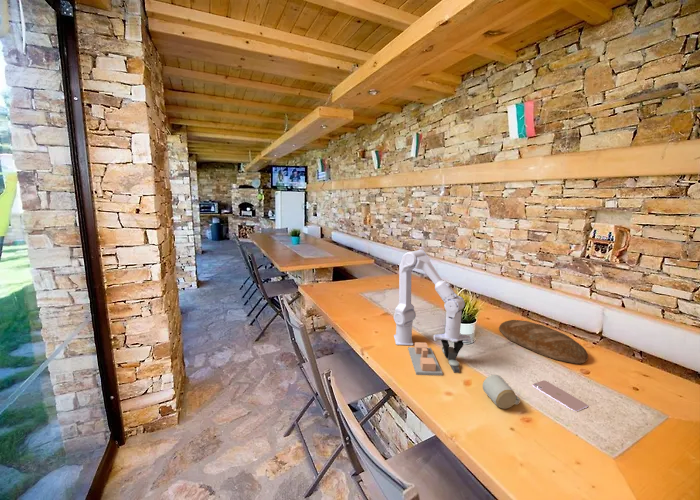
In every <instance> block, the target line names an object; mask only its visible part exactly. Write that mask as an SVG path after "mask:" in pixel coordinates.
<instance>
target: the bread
mask: <svg viewBox="0 0 700 500" xmlns="http://www.w3.org/2000/svg"><path fill="white" fill-rule="evenodd" d="M498 329H499V331H500V333H501V335H503V336H504V337H505V338H506V339H507V340H508V341H511V342H512V343H514V344H516V345H519V346H521V347H523V348H525V349H527V350H529V351H532V352H534V353H537V354H539V355H542V356H544V357H547V358H549V359H553V360H555V361H560V362H565V363H570V364H571V363H572V364H577V365H579V364H583V363H585V362H587V361H588V359H589V354H588V352H587V350H586V349H585V347H583V346H582V345H581V344H580V343H579V342H577V341H576V340H575V339H574V338H572V337H570V336H569V335H567V334H565V333H563V332H560V331H559V330H555V329H553V328H551V327H548V326H546V325H543V324H539V323H535V322H532V321H527V320H519V319H510V320H506V321H503V322H502V323H500V325H499V327H498Z"/></svg>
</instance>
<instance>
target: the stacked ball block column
mask: <svg viewBox="0 0 700 500" xmlns="http://www.w3.org/2000/svg"><path fill="white" fill-rule="evenodd" d="M441 351H442V353H443V354H444V356H445V353H444V348H443V346H442V348H441ZM456 355H457V353H456V351H455V350H454V346H449V349H448V358H446V359H447V360H448V364H449V366H450V367H451V370H452V371H453V373H454V374H460V371H461V370H460V367H459V366H460V361H458V360H457V358H456ZM457 356H458V355H457Z"/></svg>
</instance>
